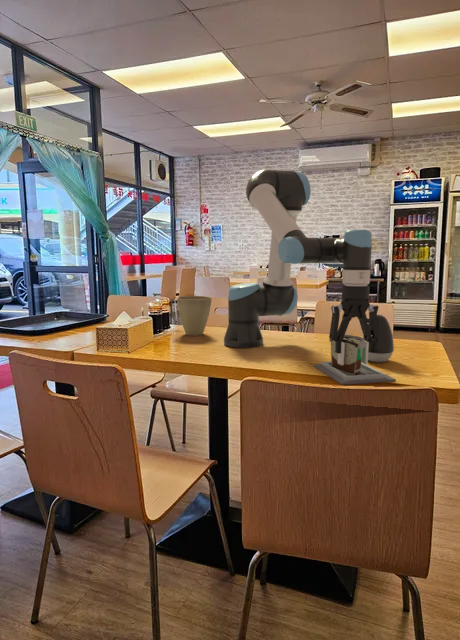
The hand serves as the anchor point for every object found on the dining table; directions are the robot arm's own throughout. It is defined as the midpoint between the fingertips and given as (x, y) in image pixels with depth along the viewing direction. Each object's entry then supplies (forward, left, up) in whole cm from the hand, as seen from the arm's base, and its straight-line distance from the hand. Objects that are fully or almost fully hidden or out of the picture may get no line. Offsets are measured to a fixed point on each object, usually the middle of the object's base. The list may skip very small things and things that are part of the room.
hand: (352, 363), depth 130 cm
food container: (-1, 0, -3) cm, 3 cm away
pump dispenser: (-13, +15, -3) cm, 20 cm away
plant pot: (-72, -38, -3) cm, 81 cm away
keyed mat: (0, 0, -3) cm, 3 cm away
